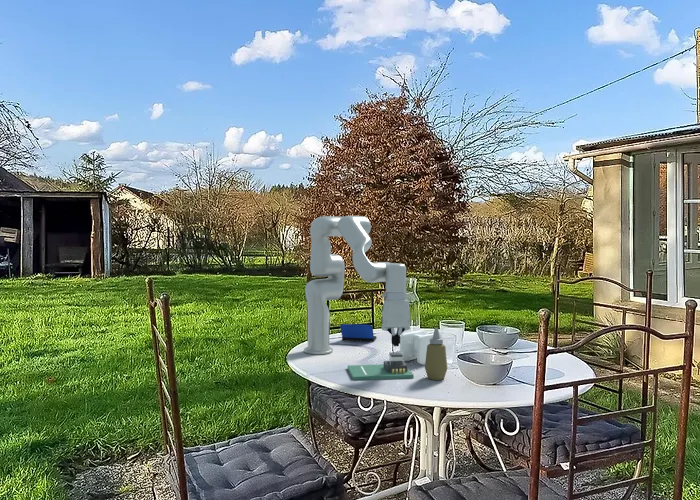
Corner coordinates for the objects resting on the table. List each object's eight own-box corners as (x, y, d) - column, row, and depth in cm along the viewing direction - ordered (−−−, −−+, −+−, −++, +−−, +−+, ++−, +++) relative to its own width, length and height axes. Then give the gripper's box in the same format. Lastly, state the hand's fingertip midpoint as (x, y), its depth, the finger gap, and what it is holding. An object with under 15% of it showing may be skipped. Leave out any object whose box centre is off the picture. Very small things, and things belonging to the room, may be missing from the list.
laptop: (377, 338, 264) (377, 320, 264) (372, 344, 251) (372, 324, 251) (346, 337, 268) (346, 318, 267) (339, 343, 255) (339, 323, 254)
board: (347, 368, 207) (347, 356, 207) (403, 366, 210) (403, 355, 210) (353, 380, 191) (353, 367, 191) (413, 378, 194) (413, 365, 194)
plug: (389, 368, 203) (389, 352, 202) (400, 368, 203) (400, 352, 203) (391, 371, 199) (391, 355, 198) (402, 371, 199) (402, 354, 199)
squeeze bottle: (442, 382, 189) (442, 331, 188) (421, 379, 193) (421, 329, 192) (450, 377, 195) (451, 328, 195) (430, 374, 200) (430, 325, 199)
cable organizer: (418, 367, 210) (418, 337, 210) (398, 362, 218) (398, 333, 217) (442, 360, 220) (442, 332, 220) (422, 356, 228) (422, 328, 227)
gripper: (377, 298, 195) (377, 348, 196) (418, 297, 197) (417, 347, 198) (374, 295, 203) (374, 344, 203) (413, 295, 205) (412, 343, 205)
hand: (395, 345), depth 201 cm, fingers closed
